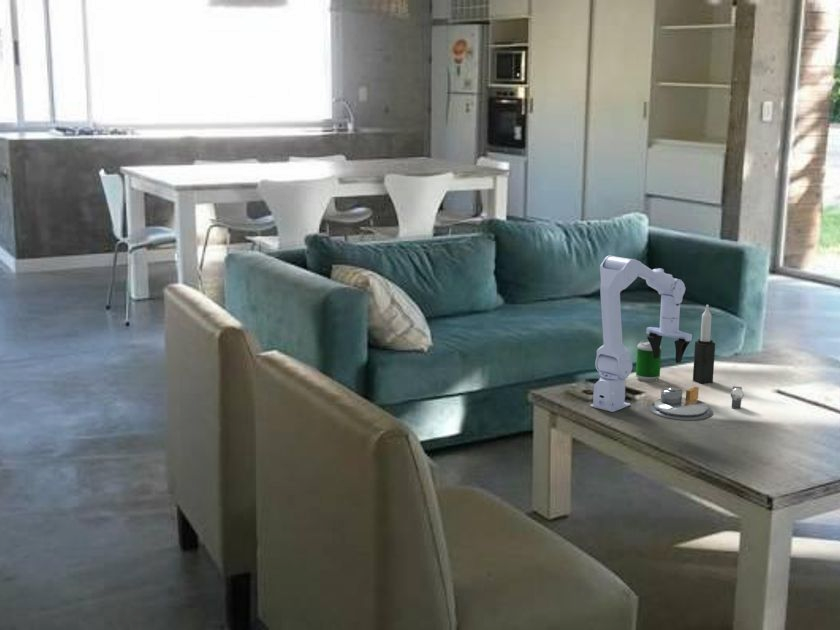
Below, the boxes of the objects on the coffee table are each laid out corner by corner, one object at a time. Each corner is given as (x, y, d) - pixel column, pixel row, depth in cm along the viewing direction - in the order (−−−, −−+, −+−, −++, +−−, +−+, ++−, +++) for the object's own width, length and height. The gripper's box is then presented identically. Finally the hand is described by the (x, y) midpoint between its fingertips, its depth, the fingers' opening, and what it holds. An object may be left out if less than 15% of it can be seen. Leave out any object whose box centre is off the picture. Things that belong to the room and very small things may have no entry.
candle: (691, 380, 337) (695, 303, 332) (703, 378, 339) (708, 302, 334) (701, 384, 333) (706, 306, 327) (714, 382, 335) (719, 305, 329)
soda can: (661, 382, 335) (663, 345, 332) (637, 382, 335) (639, 345, 332) (657, 376, 342) (658, 340, 340) (633, 375, 342) (635, 339, 340)
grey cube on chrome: (742, 409, 307) (744, 389, 306) (729, 408, 308) (731, 388, 306) (742, 406, 310) (743, 386, 309) (729, 405, 311) (730, 385, 309)
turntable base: (692, 424, 294) (692, 423, 294) (637, 410, 306) (637, 409, 306) (724, 410, 306) (724, 409, 306) (670, 397, 319) (670, 396, 318)
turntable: (690, 420, 296) (691, 403, 295) (644, 408, 306) (645, 393, 305) (719, 407, 307) (720, 392, 306) (673, 397, 317) (674, 382, 316)
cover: (674, 406, 304) (675, 392, 303) (656, 401, 308) (657, 388, 307) (685, 401, 308) (686, 388, 308) (667, 397, 312) (668, 384, 312)
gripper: (697, 318, 319) (695, 361, 322) (655, 311, 329) (653, 353, 331) (685, 322, 314) (683, 366, 317) (643, 314, 324) (641, 357, 326)
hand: (667, 360), depth 324 cm, fingers open, 7 cm apart
